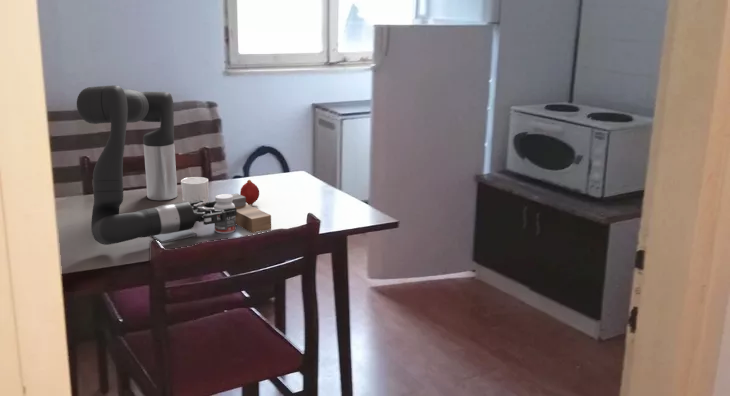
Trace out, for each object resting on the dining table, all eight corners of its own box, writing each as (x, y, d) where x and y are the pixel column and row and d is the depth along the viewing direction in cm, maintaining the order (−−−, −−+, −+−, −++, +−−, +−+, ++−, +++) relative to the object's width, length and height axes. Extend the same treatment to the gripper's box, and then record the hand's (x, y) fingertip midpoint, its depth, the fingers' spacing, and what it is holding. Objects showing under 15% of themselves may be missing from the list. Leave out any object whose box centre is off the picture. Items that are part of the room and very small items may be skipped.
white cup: (215, 211, 221) (213, 178, 219) (198, 218, 214) (197, 184, 212) (193, 207, 224) (192, 175, 222) (177, 214, 218) (174, 181, 215)
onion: (241, 202, 231) (240, 177, 228) (260, 202, 231) (259, 177, 229) (240, 207, 225) (239, 182, 223) (259, 207, 225) (258, 181, 223)
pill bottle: (231, 235, 200) (229, 199, 198) (211, 233, 202) (209, 198, 199) (238, 228, 206) (237, 194, 203) (219, 227, 207) (218, 192, 204)
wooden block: (218, 215, 217) (217, 194, 215) (236, 211, 221) (235, 191, 219) (252, 233, 202) (251, 210, 200) (271, 228, 206) (270, 206, 204)
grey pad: (146, 232, 201) (146, 231, 201) (180, 226, 207) (180, 224, 207) (161, 242, 194) (161, 241, 194) (196, 235, 200) (196, 233, 200)
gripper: (183, 210, 187) (240, 200, 196) (160, 198, 197) (215, 188, 207) (185, 239, 189) (241, 227, 198) (162, 224, 200) (216, 214, 209)
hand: (228, 207), depth 203 cm, fingers open, 8 cm apart
